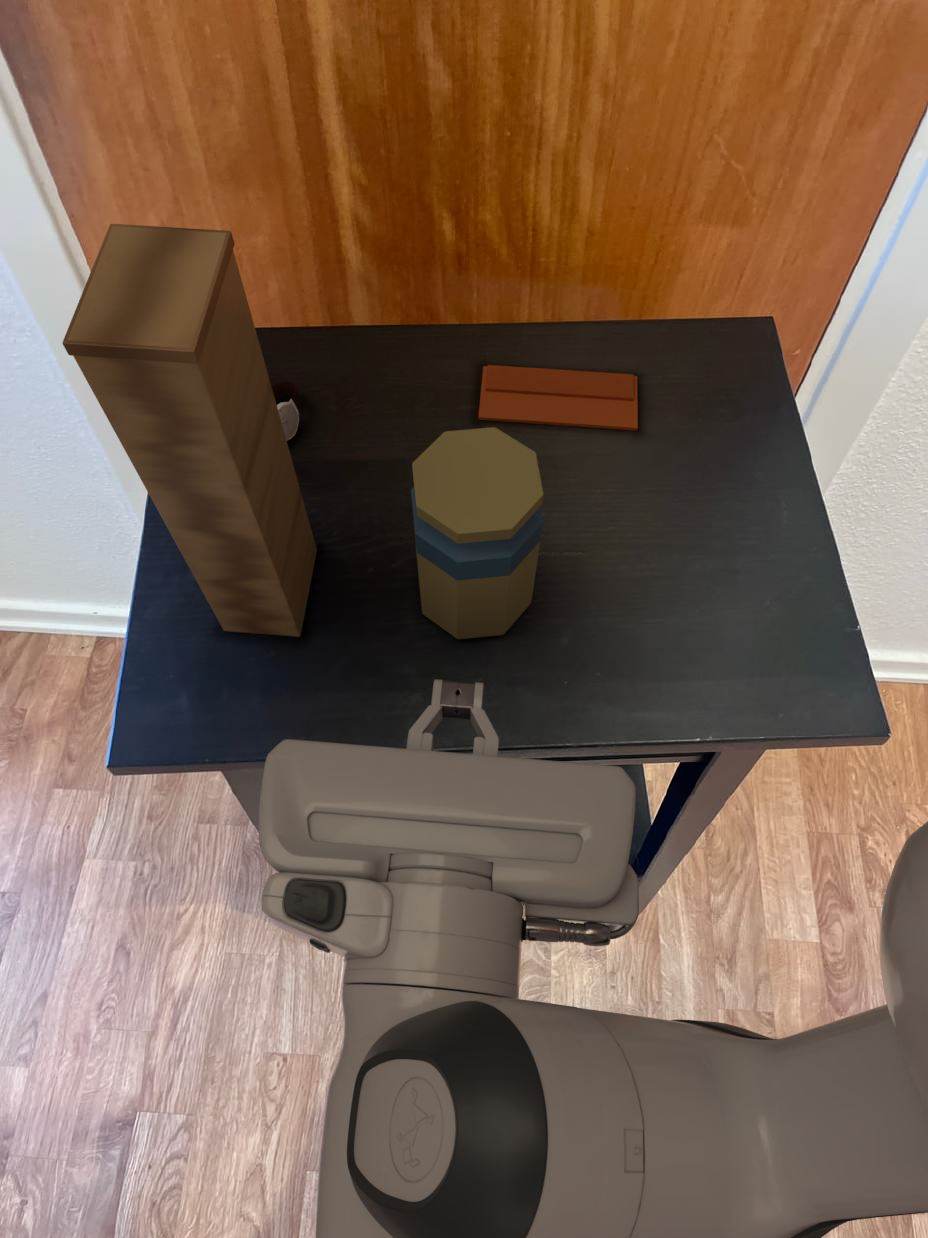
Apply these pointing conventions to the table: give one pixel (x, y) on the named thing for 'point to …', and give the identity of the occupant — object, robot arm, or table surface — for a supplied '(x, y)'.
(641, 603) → the table surface
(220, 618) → the tall box
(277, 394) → the watch
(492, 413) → the cloth
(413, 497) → the jar
